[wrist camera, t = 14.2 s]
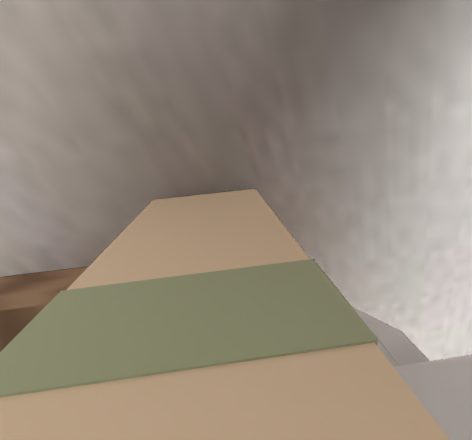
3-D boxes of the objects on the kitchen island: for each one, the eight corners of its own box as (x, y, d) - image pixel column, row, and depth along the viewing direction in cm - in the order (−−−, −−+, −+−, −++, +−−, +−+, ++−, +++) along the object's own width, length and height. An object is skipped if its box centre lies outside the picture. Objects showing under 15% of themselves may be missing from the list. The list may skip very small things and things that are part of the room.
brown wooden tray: (133, 260, 15) (119, 282, 13) (169, 391, 20) (163, 425, 17) (-125, 292, 14) (-191, 322, 12) (-26, 421, 19) (-60, 462, 16)
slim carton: (256, 187, 13) (654, 684, 1) (262, 287, 16) (414, 772, 4) (152, 199, 13) (-642, 997, 1) (174, 298, 16) (35, 866, 3)
